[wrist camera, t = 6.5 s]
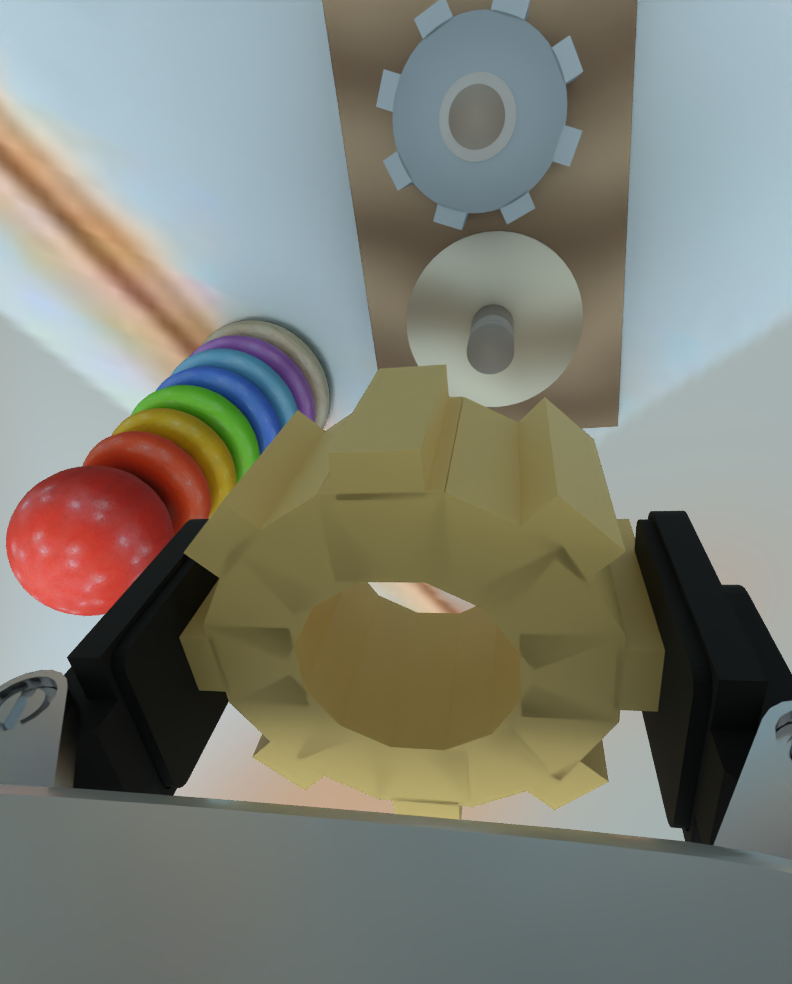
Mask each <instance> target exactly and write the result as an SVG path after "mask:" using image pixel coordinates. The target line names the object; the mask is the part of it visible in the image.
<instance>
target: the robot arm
mask: <svg viewBox="0 0 792 984" xmlns="http://www.w3.org/2000/svg"><path fill="white" fill-rule="evenodd" d="M208 520H209V519H190V520H189V521H187V522H186V523H185V524H184V526H183V527H182V528H181V529H180V530H179V531H178V532H177V533H176V535H175V536H174V537H173V538H172V539H171V540H170V541H169V543H168V544H167V545H166V546H165V547H164V548H163V549H162V550H161V552H160V553H159V554H158V555H157V556H156V557H155V558H154V560H153V561H152V562H151V563H150V564H149V565H148V566H147V567H146V569H145V570H144V571H143V572H142V573H141V574H140V575H139V576H138V578H137V579H136V580H135V581H134V582H133V583H132V584H131V586H130V587H129V588H128V589H127V590H126V591H125V592H124V593H123V595H122V596H121V597H120V598H119V599H118V600H117V601H116V603H115V604H114V605H113V606H112V607H111V608H110V609H109V610H108V612H107V613H106V614H105V615H104V616H103V617H102V618H101V620H100V621H99V622H98V623H97V624H96V625H95V626H94V627H93V629H92V630H91V631H90V632H89V633H88V634H87V635H86V637H85V638H84V639H83V640H82V641H81V642H80V643H79V644H78V646H77V647H76V648H75V649H74V650H73V651H72V652H71V653H70V655H69V656H68V657H67V658H68V660H69V662H70V664H71V666H72V667H71V668H70V669H69V670H68V671H67V673H66V674H65V675H63V674H62V673H60V672H57V671H54V670H39V671H35V672H30V673H26V674H24V675H21V676H19V677H16V678H14V679H11V680H10V681H8V682H6V683H4V684H3V685H1V686H0V984H792V674H791V672H790V670H789V668H788V666H787V665H786V663H785V661H784V659H783V657H782V655H781V653H780V652H779V650H778V648H777V646H776V644H775V642H774V640H773V639H772V637H771V635H770V633H769V631H768V629H767V627H766V626H765V624H764V622H763V620H762V618H761V616H760V614H759V613H758V611H757V609H756V607H755V605H754V603H753V601H752V600H751V598H750V596H749V595H748V593H747V591H746V590H745V588H744V587H742V586H740V585H721V583H720V581H719V579H718V577H717V575H716V573H715V570H714V569H713V566H712V564H711V562H710V560H709V558H708V556H707V554H706V552H705V550H704V548H703V546H702V544H701V542H700V540H699V538H698V536H697V534H696V532H695V529H694V527H693V525H692V523H691V521H690V519H689V517H688V515H687V513H686V512H685V511H651V512H650V513H649V516H648V519H647V520H638V521H637V526H636V537H635V549H634V551H635V554H636V557H637V560H638V564H639V567H640V570H641V573H642V577H643V580H644V583H645V586H646V590H647V593H648V596H649V600H650V603H651V606H652V609H653V613H654V616H655V619H656V622H657V626H658V629H659V632H660V636H661V639H662V642H663V645H664V649H665V656H664V664H663V673H662V681H661V689H660V697H659V706H658V712H655V711H642V713H643V718H644V722H645V726H646V731H647V735H648V739H649V743H650V748H651V752H652V756H653V761H654V765H655V769H656V773H657V778H658V782H659V786H660V791H661V795H662V799H663V803H664V808H665V812H666V816H667V820H668V823H669V825H670V827H675V828H682V830H683V833H684V838H685V841H675V840H665V839H656V838H647V837H637V836H628V835H618V834H609V833H599V832H590V831H580V830H571V829H560V828H548V827H537V826H525V825H514V824H503V823H492V822H481V821H470V820H458V819H447V818H436V817H425V816H413V815H402V814H389V813H378V812H366V811H354V810H342V809H331V808H318V807H306V806H294V805H281V804H270V803H258V802H246V801H234V800H221V799H208V798H195V797H182V796H173V795H174V793H175V791H176V789H177V788H180V787H183V786H184V785H185V784H186V782H187V781H188V779H189V777H190V775H191V773H192V771H193V769H194V767H195V765H196V764H197V762H198V760H199V758H200V756H201V754H202V752H203V750H204V748H205V746H206V744H207V742H208V740H209V738H210V736H211V734H212V732H213V731H214V729H215V727H216V725H217V723H218V721H219V719H220V717H221V715H222V713H223V711H224V709H225V707H226V705H227V703H228V701H229V700H228V697H227V694H226V692H223V691H201V690H199V689H198V686H197V684H196V681H195V678H194V676H193V673H192V670H191V668H190V665H189V662H188V660H187V657H186V654H185V652H184V649H183V646H182V644H181V641H180V638H179V637H180V635H181V634H182V632H183V631H184V629H185V628H186V627H187V625H188V624H189V622H190V621H191V619H192V618H193V616H194V615H195V613H196V612H197V610H198V609H199V607H200V606H201V605H202V603H203V602H204V600H205V599H206V597H207V596H208V594H209V593H210V591H211V590H212V588H213V587H214V585H215V584H216V582H217V581H218V580H219V577H217V576H216V575H214V574H213V573H212V572H210V571H209V570H207V569H206V568H204V567H203V566H201V565H200V564H199V563H197V562H196V561H194V560H193V559H191V558H190V557H189V556H187V555H186V554H184V551H185V550H186V549H187V547H188V546H189V545H190V543H191V542H192V541H193V539H194V538H195V537H196V536H197V534H198V533H199V532H200V530H201V529H202V528H203V526H204V525H205V524H206V522H207V521H208Z"/></svg>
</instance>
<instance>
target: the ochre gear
mask: <svg viewBox="0 0 792 984" xmlns="http://www.w3.org/2000/svg"><path fill="white" fill-rule="evenodd" d="M634 549H635V537H634V534H633V531H632V527H631V524H630V521H629V519H616V516H615V512H614V509H613V505H612V502H611V498H610V494H609V491H608V487H607V484H606V481H605V477H604V474H603V470H602V466H601V463H600V459H599V456H598V452H597V449H596V445H595V442H594V439H593V438H592V437H590V436H589V435H588V434H587V433H586V432H585V431H584V430H582V429H581V428H580V427H579V426H578V425H577V424H575V423H574V422H573V421H572V420H571V419H570V418H569V417H567V416H566V415H565V414H564V413H563V412H562V411H561V410H559V409H558V408H557V407H556V406H555V405H554V404H552V403H551V402H550V401H549V400H548V399H547V398H546V397H544V398H543V399H542V400H541V401H540V402H539V403H538V404H537V405H536V406H535V407H534V408H533V409H532V410H531V411H530V412H529V413H528V414H527V415H526V416H525V417H523V418H522V419H521V420H520V421H519V422H516V421H514V420H512V419H510V418H508V417H506V416H504V415H502V414H499V413H497V412H495V411H493V410H491V409H489V408H487V407H485V406H483V405H480V404H478V403H476V402H474V401H472V400H470V399H468V398H466V397H463V396H460V397H449V392H448V380H447V367H446V364H445V365H429V366H414V367H398V368H383V369H379V370H378V371H377V373H376V375H375V376H374V378H373V380H372V381H371V383H370V385H369V386H368V388H367V389H366V391H365V393H364V394H363V396H362V398H361V399H360V401H359V403H358V404H357V406H356V408H355V409H354V411H353V413H352V414H350V415H349V416H347V417H346V418H344V419H343V420H341V421H340V422H338V423H337V424H335V425H334V426H332V427H331V428H329V429H328V430H326V431H324V430H323V429H322V428H321V427H319V426H318V425H317V424H316V423H314V422H313V421H312V420H310V419H309V418H308V417H307V416H305V415H304V414H303V413H301V412H300V411H299V410H297V411H296V413H295V414H294V415H293V416H292V417H291V419H290V420H289V421H288V422H287V423H286V425H285V426H284V427H283V428H282V430H281V431H280V432H279V433H278V434H277V436H276V437H275V438H274V439H273V441H272V442H271V443H270V444H269V445H268V447H267V448H266V449H265V450H264V451H263V453H262V454H261V455H260V456H259V458H258V459H257V460H256V461H255V462H254V464H253V465H252V466H251V467H250V468H249V470H248V471H247V472H246V473H245V475H244V476H243V477H242V478H241V479H240V481H239V482H238V483H237V484H236V486H235V487H234V488H233V489H232V490H231V492H230V493H229V494H228V495H227V496H226V498H225V499H224V500H223V501H222V503H221V504H220V505H219V507H218V508H217V509H216V510H215V512H214V513H213V514H212V516H211V517H210V518H209V520H208V521H207V522H206V524H205V525H204V526H203V528H202V529H201V530H200V532H199V533H198V534H197V536H196V537H195V538H194V539H193V541H192V542H191V543H190V545H189V546H188V547H187V549H186V550H185V551H184V554H186V555H187V556H189V557H190V558H191V559H193V560H194V561H196V562H197V563H199V564H200V565H201V566H203V567H204V568H206V569H207V570H209V571H210V572H212V573H213V574H214V575H216V576H217V577H219V580H218V581H217V582H216V584H215V585H214V587H213V588H212V590H211V591H210V593H209V594H208V596H207V597H206V599H205V600H204V602H203V603H202V605H201V606H200V607H199V609H198V610H197V612H196V613H195V615H194V616H193V618H192V619H191V621H190V622H189V624H188V625H187V627H186V628H185V629H184V631H183V632H182V634H181V635H180V637H179V638H180V641H181V644H182V646H183V649H184V652H185V654H186V657H187V660H188V662H189V665H190V668H191V670H192V673H193V676H194V678H195V681H196V684H197V686H198V689H199V690H201V691H223V692H226V694H227V697H228V700H229V702H230V703H231V704H232V705H233V706H234V707H235V708H236V709H237V710H238V711H239V712H240V713H241V714H242V715H243V716H244V717H245V718H246V719H247V720H249V721H250V722H251V723H252V724H253V725H254V726H255V727H256V728H257V729H258V730H259V731H260V732H261V733H262V736H261V738H260V741H259V743H258V745H257V748H256V750H255V753H254V755H253V758H255V759H256V760H258V761H259V762H261V763H263V764H264V765H266V766H267V767H269V768H271V769H272V770H274V771H275V772H277V773H278V774H280V775H282V776H283V777H285V778H286V779H288V780H289V781H291V782H293V783H294V784H296V785H297V786H299V787H301V788H302V789H304V790H306V789H308V788H309V787H310V786H311V785H313V784H314V783H316V782H317V781H318V780H319V779H321V778H322V777H324V776H325V777H328V778H330V779H332V780H335V781H337V782H340V783H342V784H344V785H347V786H349V787H351V788H354V789H356V790H358V791H361V792H363V793H365V794H368V795H370V796H372V797H375V798H378V799H382V800H393V805H394V811H395V814H402V815H413V816H425V817H436V818H447V819H458V820H461V814H462V806H469V807H472V806H473V807H474V806H477V805H480V804H484V803H487V802H491V801H494V800H498V799H501V798H504V797H508V796H511V795H515V794H518V793H521V792H525V791H528V792H529V793H531V794H532V795H533V796H535V797H537V798H538V799H539V800H541V801H542V802H544V803H545V804H546V805H548V806H549V807H551V808H552V809H554V810H556V809H558V808H559V807H561V806H563V805H565V804H567V803H569V802H571V801H573V800H575V799H577V798H578V797H580V796H582V795H584V794H586V793H588V792H590V791H592V790H594V789H596V788H597V787H599V786H601V785H603V784H605V783H607V782H609V781H608V775H607V769H606V762H605V755H604V749H603V742H602V738H603V737H604V736H605V735H606V734H607V733H608V732H609V731H610V730H611V729H612V728H613V727H614V726H615V725H616V724H617V723H618V722H619V717H620V710H634V711H655V712H658V706H659V697H660V689H661V681H662V673H663V664H664V656H665V649H664V645H663V642H662V639H661V636H660V632H659V629H658V626H657V622H656V619H655V616H654V613H653V609H652V606H651V603H650V600H649V596H648V593H647V590H646V586H645V583H644V580H643V577H642V573H641V570H640V567H639V564H638V560H637V557H636V554H635V551H634ZM368 582H425V583H428V584H430V585H432V586H434V587H436V588H439V589H441V590H443V591H445V592H447V593H450V594H452V595H454V596H456V597H459V598H461V599H463V600H465V601H467V602H470V603H472V604H474V605H476V606H475V607H473V608H471V609H469V610H467V611H464V612H462V613H460V614H459V613H417V612H415V611H412V610H410V609H408V608H406V607H403V606H401V605H399V604H397V603H394V602H392V601H390V600H388V599H386V598H383V597H381V596H379V595H378V594H377V593H376V592H375V591H374V589H373V588H372V587H371V586H370V585H369V584H368Z"/></svg>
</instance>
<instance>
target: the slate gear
mask: <svg viewBox="0 0 792 984" xmlns="http://www.w3.org/2000/svg"><path fill="white" fill-rule="evenodd" d="M529 6H530V0H493V3H492V6H491V10H487V9H482V10H474V11H469V12H465V13H462V14H459V15H456V16H454V17H453V15H452V13H451V11H450V9H449V6H448V4H447V2H446V0H439V1H437V2H436V3H435V4H433V5H432V6H431V7H429V8H428V9H427V10H425V11H424V12H423V13H421V14H420V15H419V16H417V17H416V18H415V19H414V20H415V23H416V25H417V27H418V29H419V31H420V34H421V36H422V38H423V40H422V41H421V42H420V43H419V44H418V45H417V47H416V48H415V50H414V51H413V52H412V54H411V55H410V57H409V59H408V61H407V63H406V64H405V66H404V68H403V71H402V73H401V74H398V73H395V72H391V71H388V70H385V69H384V70H383V75H382V80H381V84H380V89H379V94H378V99H377V104H376V107H378V108H382V109H385V110H388V111H391V112H393V118H392V120H393V134H394V140H395V145H396V148H397V152H395V153H394V154H392V155H391V156H389V157H388V158H386V159H385V160H383V162H384V164H385V166H386V168H387V170H388V172H389V174H390V176H391V178H392V180H393V182H394V184H395V186H396V188H397V190H398V191H399V190H401V189H403V188H406V187H408V186H410V185H412V184H413V183H414V184H415V186H416V187H417V188H418V189H419V190H420V191H421V192H422V193H423V194H424V195H426V196H427V197H428V198H429V199H431V200H432V201H434V202H435V203H437V204H438V205H437V209H436V212H435V216H434V220H433V222H437V223H440V224H443V225H446V226H449V227H453V228H456V229H459V230H462V228H463V227H464V225H465V223H466V221H467V218H468V215H469V213H484V212H489V211H494V210H497V209H500V210H501V212H502V215H503V217H504V219H505V221H506V223H507V224H509V223H511V222H512V221H514V220H516V219H518V218H519V217H521V216H523V215H525V214H526V213H528V212H530V211H532V210H533V209H535V206H534V204H533V201H532V199H531V196H530V194H529V191H530V190H531V189H532V188H533V187H534V186H535V185H536V184H537V183H538V182H539V181H540V179H541V178H542V177H543V176H544V174H545V173H546V171H547V170H548V169H549V167H550V165H551V163H552V162H556V163H559V164H562V165H566V166H569V167H570V164H571V161H572V159H573V156H574V153H575V150H576V148H577V145H578V142H579V139H580V137H581V134H582V130H579V129H576V128H572V127H569V126H566V125H565V124H566V118H567V90H566V85H568V84H569V83H571V82H572V81H574V80H575V79H576V78H577V77H578V76H579V75H580V74H581V73H582V72H583V69H582V66H581V64H580V61H579V58H578V55H577V53H576V50H575V47H574V45H573V42H572V39H571V36H570V35H569V36H568V37H566V38H565V39H563V40H562V41H560V42H559V43H558V44H556V45H555V46H553V47H551V46H550V44H549V42H548V41H547V40H546V39H545V38H544V36H543V35H542V34H541V33H540V32H539V31H538V30H537V29H536V28H535V27H533V26H532V25H531V24H530V23H528V22H527V17H528V13H529ZM473 84H484V85H487V86H490V87H491V88H493V89H494V90H495V91H496V92H497V93H498V94H499V95H500V97H501V99H502V101H503V104H504V108H505V122H504V126H503V129H502V131H501V133H500V135H499V137H498V138H497V139H496V140H495V141H494V142H493V143H492V144H491V145H489V146H488V147H486V148H483V149H479V150H471V149H467V148H465V147H463V146H461V145H460V144H459V143H458V142H457V141H456V140H455V139H454V137H453V136H452V134H451V131H450V128H449V119H448V118H449V110H450V107H451V104H452V102H453V100H454V98H455V97H456V96H457V94H458V93H459V92H460V91H461V90H463V89H464V88H466V87H467V86H470V85H473Z"/></svg>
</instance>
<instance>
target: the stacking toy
mask: <svg viewBox="0 0 792 984" xmlns="http://www.w3.org/2000/svg"><path fill="white" fill-rule="evenodd" d="M329 403H330V396H329V387H328V382H327V379H326V375H325V373H324V370H323V368H322V366H321V364H320V362H319V361H318V359H317V357H316V356H315V354H314V353H313V352H312V351H311V349H310V348H309V347H308V346H307V345H306V344H305V343H304V342H303V341H302V340H301V339H300V338H298V337H297V336H296V335H294V334H293V333H292V332H290V331H288V330H286V329H285V328H283V327H280V326H278V325H275V324H272V323H268V322H264V321H256V320H247V321H239V322H234V323H231V324H228V325H226V326H224V327H222V328H220V329H218V330H216V331H215V332H214V333H213V334H211V335H210V336H209V337H208V338H207V339H206V340H205V341H204V343H203V344H202V345H201V346H200V347H199V348H197V349H196V350H195V351H194V352H193V353H192V354H191V355H190V356H189V358H187V359H186V360H184V361H183V362H182V363H181V364H180V365H179V366H178V367H177V368H176V369H175V370H174V372H173V373H172V374H171V376H170V377H169V378H167V379H166V380H165V381H164V382H163V383H162V384H161V385H160V386H159V387H158V388H157V390H156V391H155V392H153V393H151V394H150V395H148V396H147V397H146V398H144V399H143V400H142V401H141V402H140V403H139V404H138V405H137V406H136V408H135V409H134V411H133V412H132V414H131V416H130V417H128V418H127V419H125V420H124V421H123V422H122V423H121V424H120V425H119V426H118V427H117V428H116V429H115V431H114V432H113V434H112V436H110V437H108V438H106V439H104V440H102V441H101V442H99V443H98V444H97V445H96V446H95V447H94V448H93V449H92V450H91V451H90V453H89V455H88V456H87V458H86V459H85V461H84V463H83V466H82V467H76V468H71V469H67V470H64V471H61V472H58V473H56V474H54V475H52V476H50V477H48V478H47V479H45V480H43V481H41V482H40V483H38V484H37V485H36V486H34V487H33V488H32V489H31V490H30V491H29V492H28V493H27V494H26V495H25V496H24V497H23V499H22V500H21V501H20V503H19V504H18V506H17V508H16V509H15V511H14V513H13V515H12V517H11V520H10V522H9V526H8V529H7V536H6V549H7V556H8V559H9V563H10V566H11V568H12V571H13V573H14V575H15V577H16V578H17V580H18V581H19V582H20V584H21V585H22V587H23V588H24V589H25V590H26V591H27V592H28V593H29V594H30V595H31V596H33V597H34V598H35V599H36V600H38V601H39V602H41V603H43V604H44V605H46V606H48V607H50V608H53V609H55V610H57V611H61V612H64V613H68V614H74V615H83V616H92V615H101V614H106V613H107V612H108V610H109V609H110V608H111V607H112V606H113V605H114V604H115V603H116V601H117V600H118V599H119V598H120V597H121V596H122V595H123V593H124V592H125V591H126V590H127V589H128V588H129V587H130V586H131V584H132V583H133V582H134V581H135V580H136V579H137V578H138V576H139V575H140V574H141V573H142V572H143V571H144V570H145V569H146V567H147V566H148V565H149V564H150V563H151V562H152V561H153V560H154V558H155V557H156V556H157V555H158V554H159V553H160V552H161V550H162V549H163V548H164V547H165V546H166V545H167V544H168V543H169V541H170V540H171V539H172V538H173V537H174V536H175V535H176V533H177V532H178V531H179V530H180V529H181V528H182V527H183V526H184V524H185V523H186V522H187V521H189V520H190V519H209V518H210V517H211V516H212V514H213V513H214V512H215V510H216V509H217V508H218V507H219V505H220V504H221V503H222V501H223V500H224V499H225V498H226V496H227V495H228V494H229V493H230V492H231V490H232V489H233V488H234V487H235V486H236V484H237V483H238V482H239V481H240V479H241V478H242V477H243V476H244V475H245V473H246V472H247V471H248V470H249V468H250V467H251V466H252V465H253V464H254V462H255V461H256V460H257V459H258V458H259V456H260V455H261V454H262V453H263V451H264V450H265V449H266V448H267V447H268V445H269V444H270V443H271V442H272V441H273V439H274V438H275V437H276V436H277V434H278V433H279V432H280V431H281V430H282V428H283V427H284V426H285V425H286V423H287V422H288V421H289V420H290V419H291V417H292V416H293V415H294V414H295V413H296V411H297V410H299V411H300V412H301V413H303V414H304V415H305V416H307V417H308V418H309V419H310V420H312V421H313V422H314V423H316V424H317V425H318V426H319V427H321V428H322V429H323V427H324V424H325V422H326V419H327V416H328V411H329Z"/></svg>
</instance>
